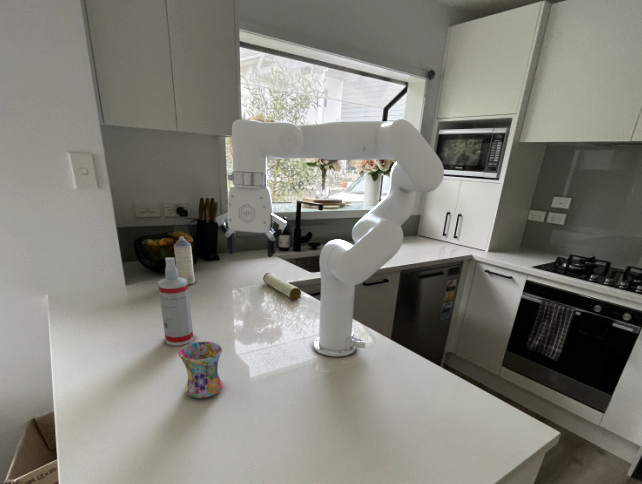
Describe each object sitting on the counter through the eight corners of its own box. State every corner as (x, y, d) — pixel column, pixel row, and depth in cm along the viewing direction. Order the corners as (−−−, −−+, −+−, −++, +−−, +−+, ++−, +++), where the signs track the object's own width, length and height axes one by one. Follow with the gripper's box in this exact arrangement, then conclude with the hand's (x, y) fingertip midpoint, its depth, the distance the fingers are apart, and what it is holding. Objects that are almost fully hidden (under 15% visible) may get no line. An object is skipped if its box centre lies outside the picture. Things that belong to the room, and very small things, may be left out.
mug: (229, 395, 87) (226, 355, 83) (188, 405, 83) (182, 363, 79) (216, 371, 97) (213, 334, 93) (178, 379, 93) (173, 341, 89)
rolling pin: (259, 282, 170) (259, 271, 168) (271, 280, 172) (270, 269, 170) (293, 304, 145) (293, 291, 143) (306, 302, 148) (306, 289, 146)
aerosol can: (197, 281, 167) (192, 235, 160) (190, 285, 161) (186, 238, 153) (182, 280, 168) (177, 234, 160) (175, 284, 162) (169, 237, 154)
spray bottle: (164, 346, 109) (152, 261, 99) (167, 335, 115) (156, 255, 106) (193, 344, 111) (184, 260, 101) (193, 333, 117) (185, 254, 108)
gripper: (207, 179, 84) (212, 254, 91) (283, 183, 82) (282, 260, 89) (220, 178, 91) (224, 248, 97) (290, 182, 89) (289, 254, 96)
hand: (251, 254), depth 93 cm, fingers open, 9 cm apart
